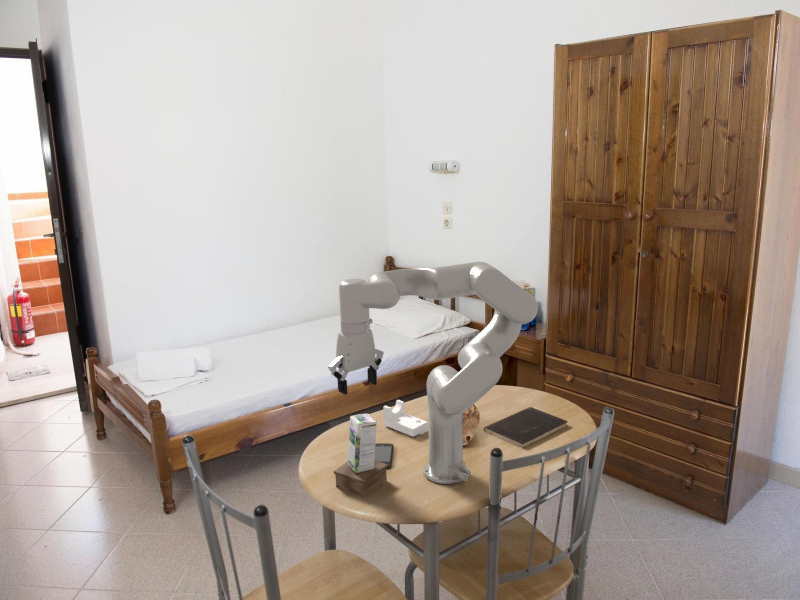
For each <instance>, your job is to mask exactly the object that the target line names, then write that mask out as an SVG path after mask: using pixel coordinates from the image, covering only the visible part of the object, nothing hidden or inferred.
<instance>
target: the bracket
mask: <svg viewBox="0 0 800 600" xmlns="http://www.w3.org/2000/svg"><path fill="white" fill-rule="evenodd" d="M383 426H386V427H388V428H390V429H393V430H395V431H398V432H400V433H403V434H405V435H408V436H410V437H416V436H418V435H420V436H422V435H424V434H425V433H427V432H429V421H426V420H424V419H421V418H418V417H416V416H413V415H411V414H408V413H405V402H404V401H403V400H400V399H396V401H395V406H394V407H393V408H392V407H391V406H388V405H384V406H383ZM424 432H425V433H424Z"/></svg>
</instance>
